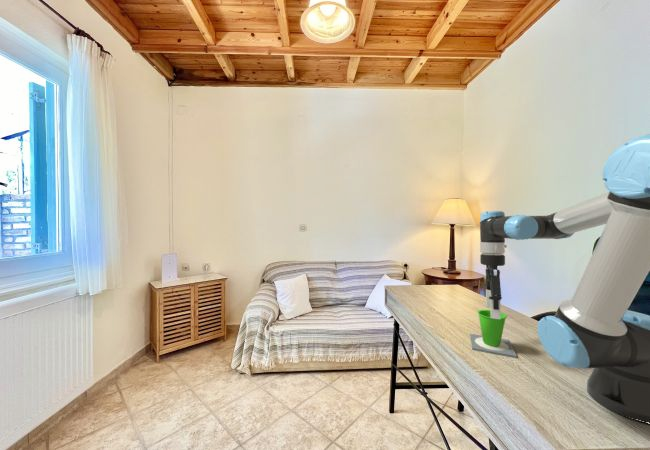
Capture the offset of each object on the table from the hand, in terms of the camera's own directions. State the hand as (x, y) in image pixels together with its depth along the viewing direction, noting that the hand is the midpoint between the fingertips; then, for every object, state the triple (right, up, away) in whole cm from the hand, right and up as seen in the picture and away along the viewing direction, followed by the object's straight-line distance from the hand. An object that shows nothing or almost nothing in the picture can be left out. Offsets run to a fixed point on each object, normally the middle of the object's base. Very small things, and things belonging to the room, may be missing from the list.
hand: (492, 312), depth 96 cm
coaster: (0, -12, +1) cm, 12 cm away
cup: (0, -12, +1) cm, 12 cm away
